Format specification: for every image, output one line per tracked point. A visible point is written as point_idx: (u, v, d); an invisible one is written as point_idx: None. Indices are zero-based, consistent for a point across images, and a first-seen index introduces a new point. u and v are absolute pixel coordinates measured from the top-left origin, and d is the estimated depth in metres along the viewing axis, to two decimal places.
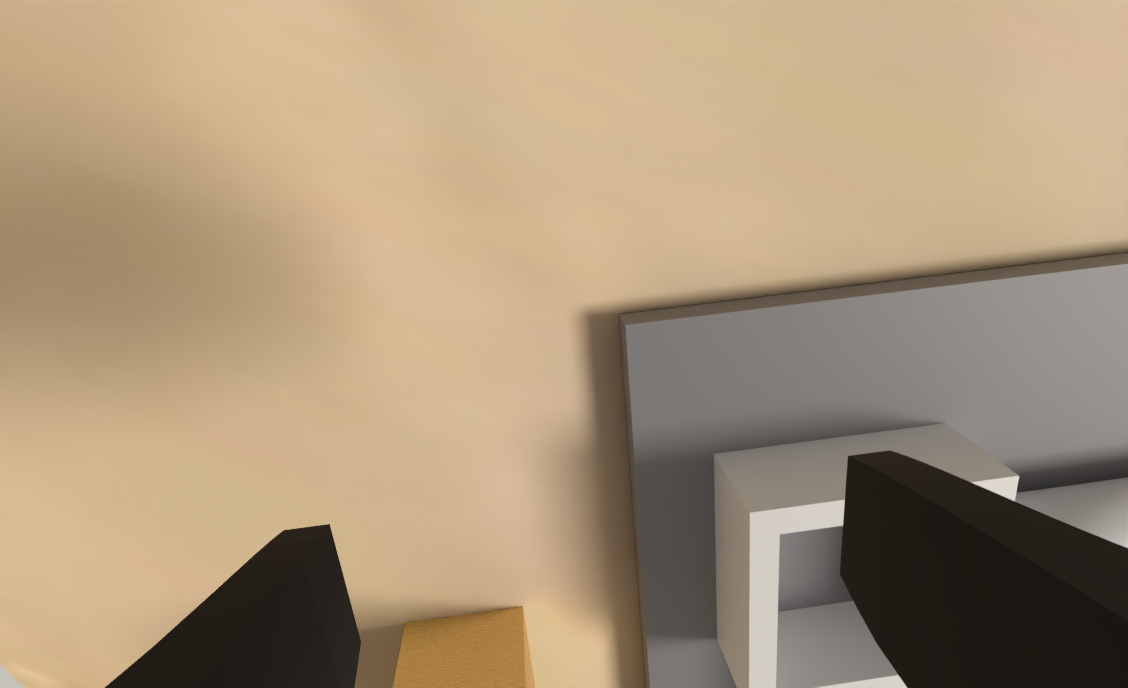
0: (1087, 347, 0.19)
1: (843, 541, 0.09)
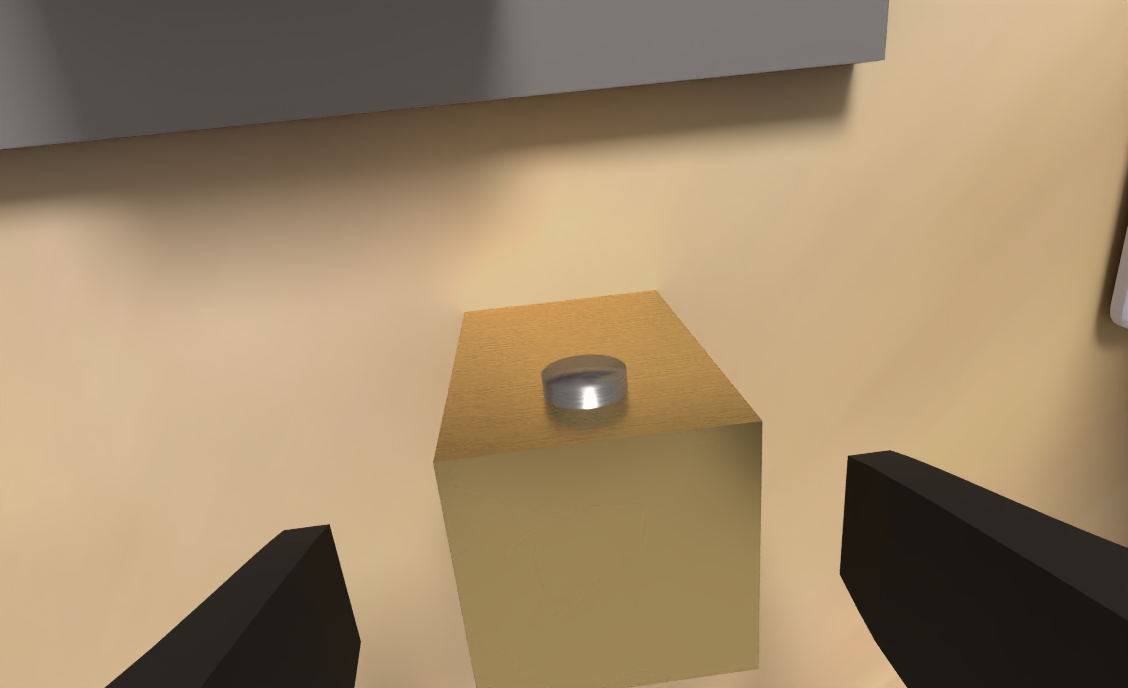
0: None
1: (843, 541, 0.09)
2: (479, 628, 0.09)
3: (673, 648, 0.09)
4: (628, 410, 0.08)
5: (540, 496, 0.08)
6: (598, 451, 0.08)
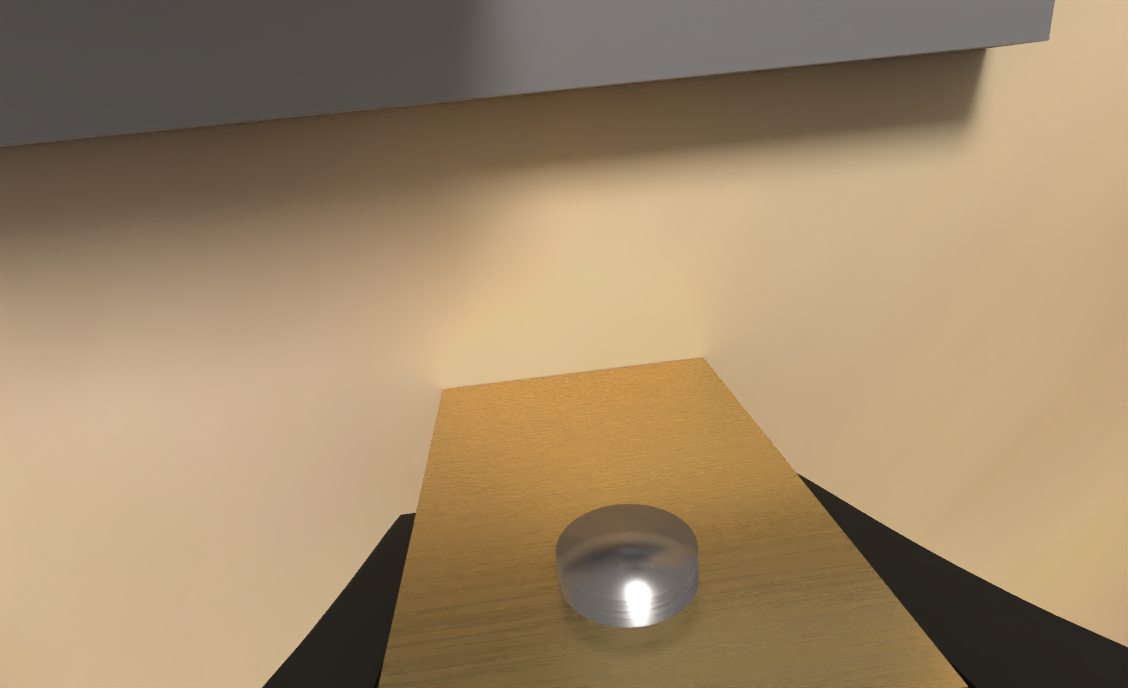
0: None
1: None
2: None
3: None
4: (710, 636, 0.05)
5: None
6: None
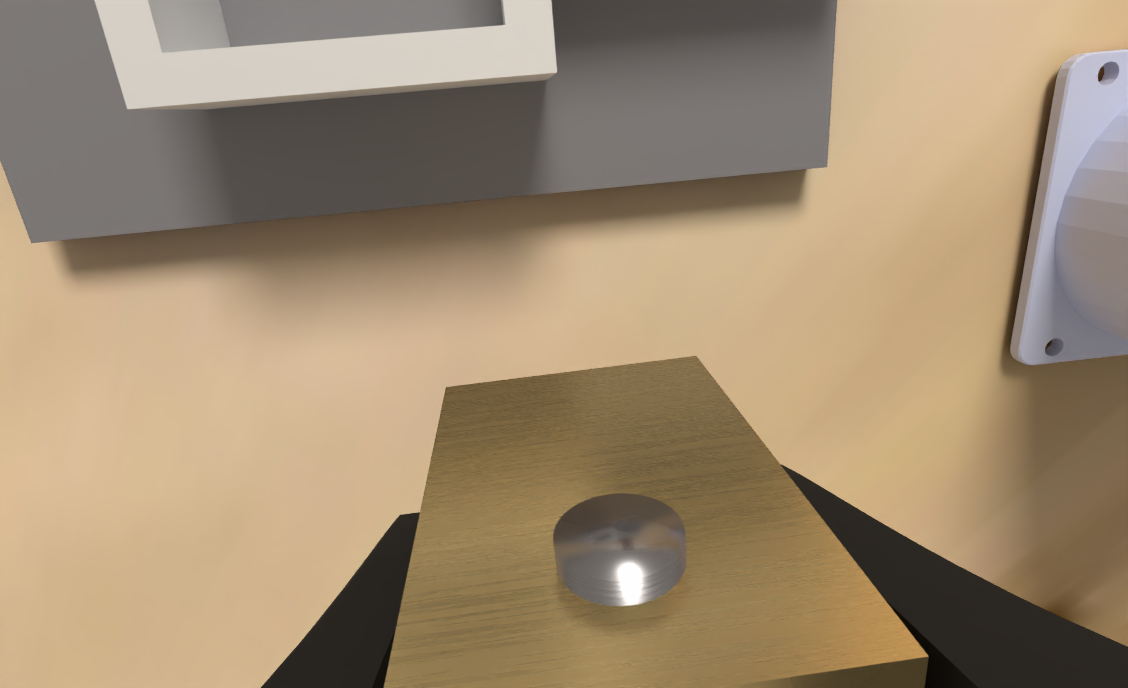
0: None
1: None
2: None
3: None
4: (694, 613, 0.05)
5: None
6: None
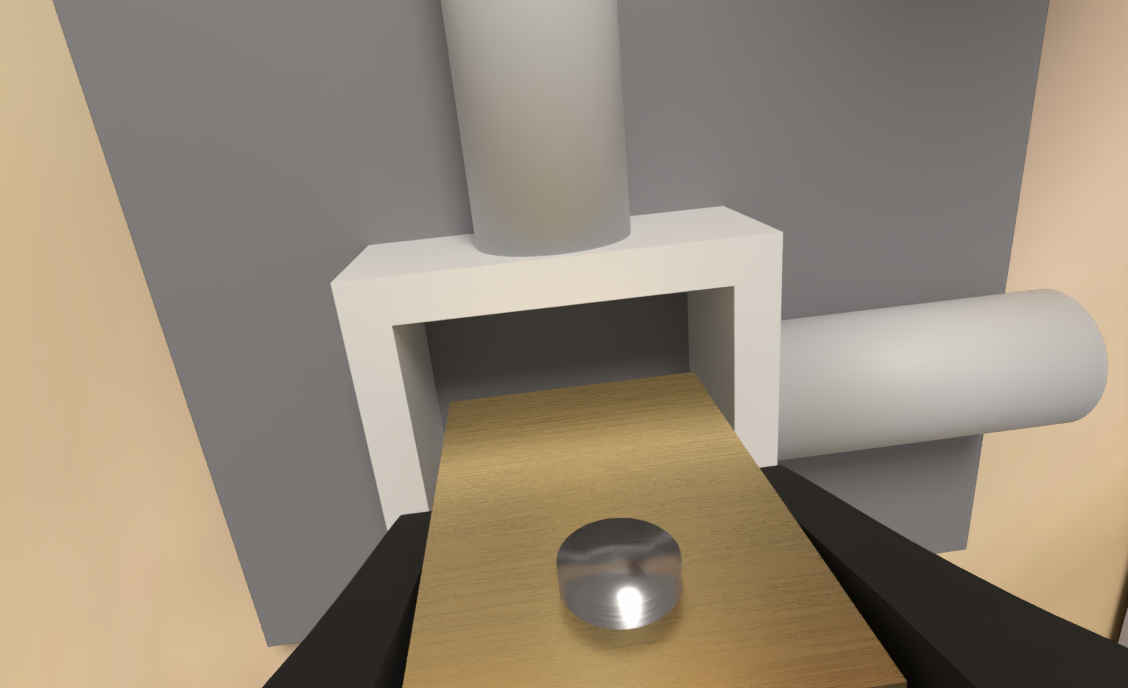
0: (208, 22, 0.11)
1: None
2: None
3: None
4: (690, 637, 0.06)
5: None
6: None
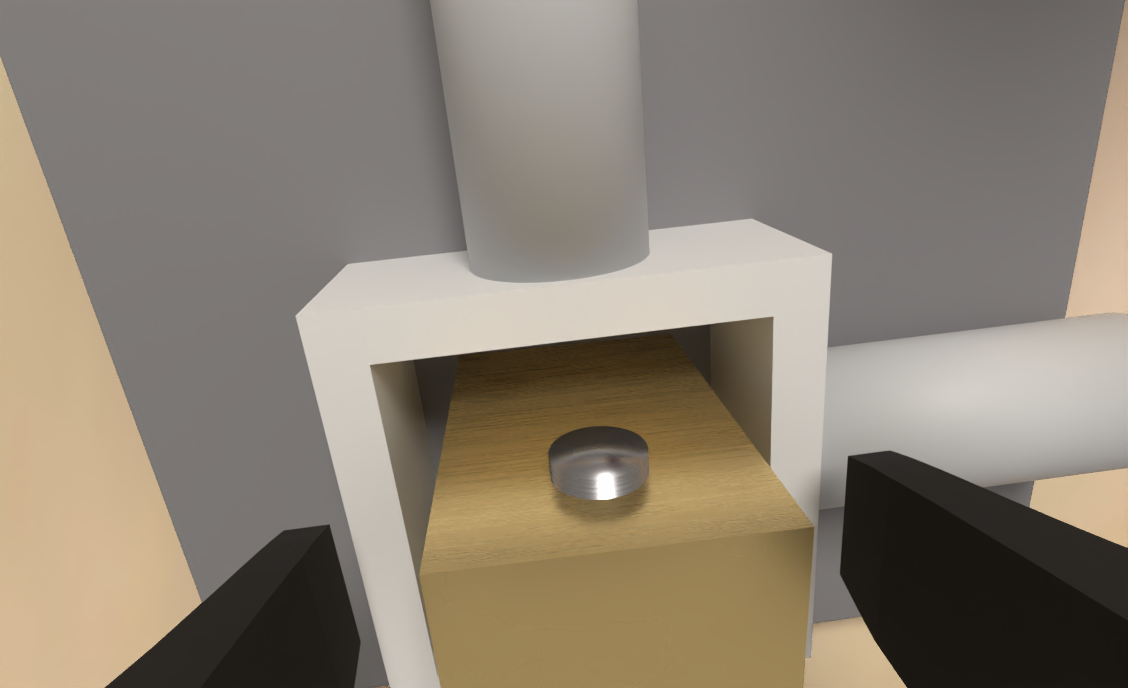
0: (157, 6, 0.10)
1: (843, 541, 0.09)
2: None
3: None
4: (651, 503, 0.07)
5: (547, 612, 0.07)
6: (618, 561, 0.06)
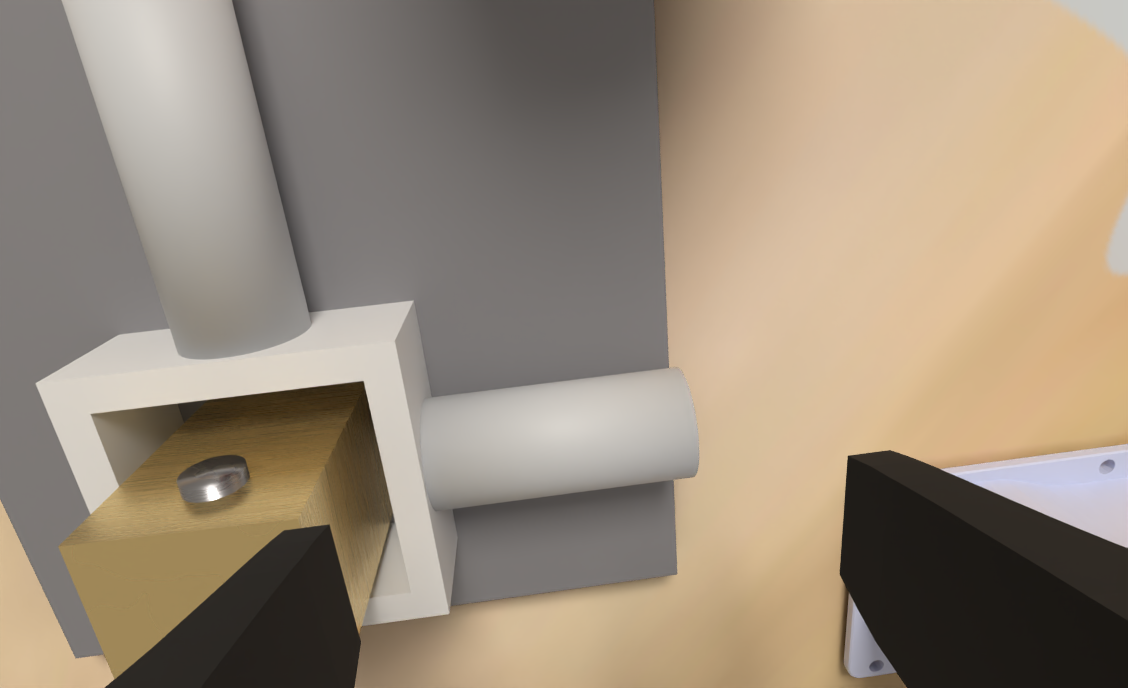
0: None
1: (843, 541, 0.09)
2: (118, 661, 0.12)
3: None
4: (225, 505, 0.12)
5: (143, 569, 0.11)
6: (180, 539, 0.11)
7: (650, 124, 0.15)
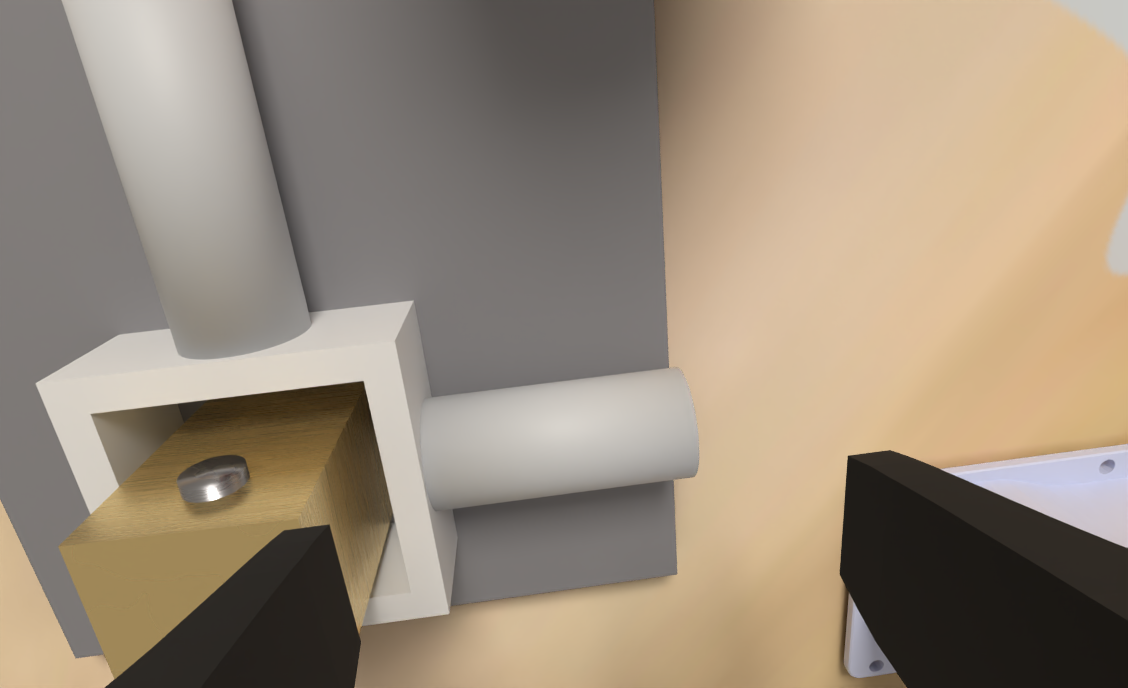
0: None
1: (843, 541, 0.09)
2: (118, 661, 0.12)
3: None
4: (225, 505, 0.12)
5: (143, 569, 0.11)
6: (180, 539, 0.11)
7: (650, 124, 0.15)
